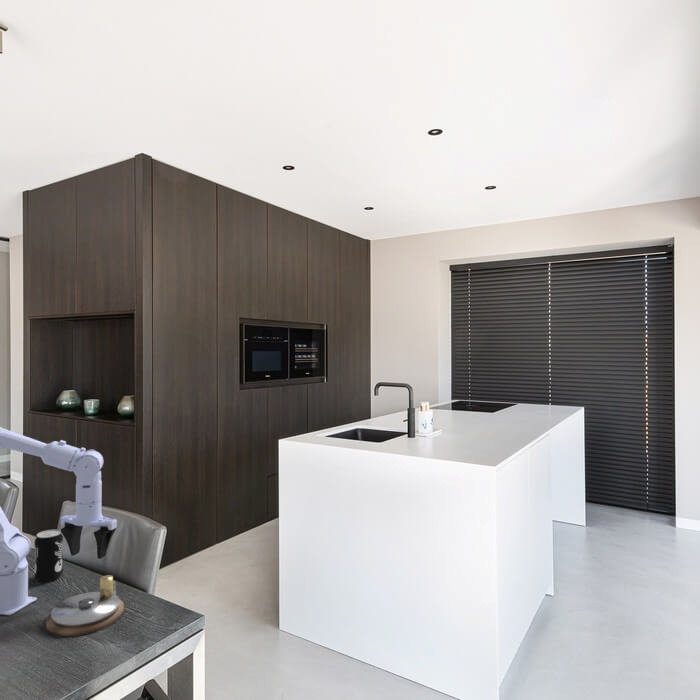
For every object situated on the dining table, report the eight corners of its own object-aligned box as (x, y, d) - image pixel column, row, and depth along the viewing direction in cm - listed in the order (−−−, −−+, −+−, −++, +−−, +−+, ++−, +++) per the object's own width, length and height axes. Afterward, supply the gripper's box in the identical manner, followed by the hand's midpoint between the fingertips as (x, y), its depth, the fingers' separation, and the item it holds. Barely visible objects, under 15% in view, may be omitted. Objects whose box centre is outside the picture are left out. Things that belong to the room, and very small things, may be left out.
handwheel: (76, 634, 110) (76, 607, 110) (37, 616, 117) (37, 591, 117) (132, 605, 123) (132, 581, 122) (94, 591, 129) (94, 568, 129)
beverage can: (49, 584, 136) (50, 538, 136) (28, 581, 137) (28, 536, 137) (68, 573, 142) (68, 529, 142) (47, 571, 143) (47, 528, 143)
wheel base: (28, 630, 114) (28, 612, 114) (85, 593, 131) (85, 577, 131) (91, 640, 110) (92, 621, 110) (142, 600, 127) (142, 584, 127)
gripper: (124, 498, 131) (124, 552, 131) (75, 494, 134) (75, 546, 134) (106, 506, 124) (105, 563, 124) (54, 502, 127) (54, 557, 127)
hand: (88, 555), depth 129 cm, fingers open, 7 cm apart
